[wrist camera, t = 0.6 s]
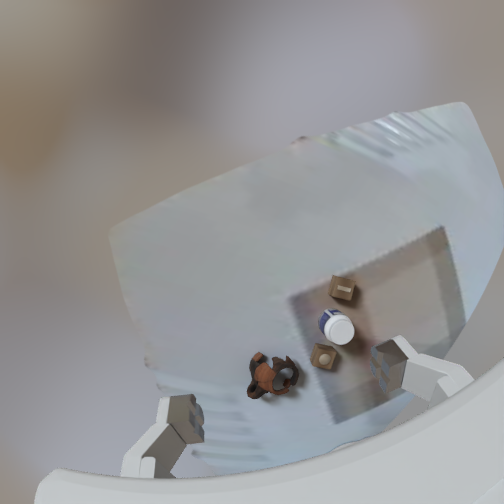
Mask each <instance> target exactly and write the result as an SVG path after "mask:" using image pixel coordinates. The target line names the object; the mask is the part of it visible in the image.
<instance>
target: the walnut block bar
mask: <svg viewBox="0 0 504 504" xmlns="http://www.w3.org/2000/svg"><path fill="white" fill-rule="evenodd" d="M355 282H356V281H353V280H349V279H345V278H341V277H337V276H334V275H333V277H332V281H331V284H330V288H329V292H328V294H329V295H331V296H333V297H337V298H341V299H345V300H351V297H352V293H353V290H354V286H355Z"/></svg>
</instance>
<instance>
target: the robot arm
mask: <svg viewBox="0 0 504 504" xmlns="http://www.w3.org/2000/svg"><path fill="white" fill-rule="evenodd" d="M371 354H372V355H373V357H372V358H371V359H370V366H371V371H372V373H373V375H374V376H375V378H377V379H380V383H379V384H380V386H381V387H382V389H383V391H384V392H385V394H386V393H388V392H390V391H393V390H395V389H397V388H400V387H401V388H403V389H405V390H407V391H409V392H411V393H413V394H415V395H417V396H419V397H421V398H423V399H425V400H427V401H429V402H430V404H429V406H428V409H427V410H426V411H425V412H423V413H421V414H419V415H417V416H415V417H413V418H411V419H410V420H408V421H406V422H404V423H401V424H399V425H397V426H395V427H393V428H391V429H389V430H387V431H384V432H382V433H380V434H377V435H375V436H373V437H367V438H365V439H363V440H360V441H357V442H350V443H346V444H344V445H341V446H339V447H337V448H335V449H334V450H332V451H331V452H329V453H326V454H323V455H319V456H316V457H312V458H309V459H305V460H301V461H298V462H294V463H290V464H285V465H281V466H276V467H272V468H267V469H261V470H256V471H250V472H243V473H236V474H229V475H220V476H209V477H197V478H176V477H175V476H173V475H172V474H171V473H170V471H171V469H172V468H173V466H174V465H175V463H176V461H177V460H178V458H179V457H180V455H181V454H182V452H183V450H184V449H185V447H186V444H194V443H202V442H204V430H203V428H202V427H201V426H202V425H203V424H204V415H203V411H202V408H201V407H200V405H199V404H197V403H196V398H195V396H194V395H193V394H188V395H179V396H171V397H161V399H160V401H159V406H158V412H157V419H156V424H155V425H152V426H151V427H150V428H149V429H148V430H147V432H146V433H145V434H144V435H143V436H142V437H141V438H140V439H139V440H138V442H136V443H135V445H134V446H133V447H132V448H131V449H130V450H129V451H128V452H127V453H126V454H125V455H124V459H123V464H122V469H121V475H120V476H110V475H102V474H94V473H88V472H82V471H76V470H71V469H66V468H57V469H55V470H54V471H52V472H51V473H50V474H49V475H48V476H46V477H45V478H44V479H43V480H42V481H41V482H40V484H39V486H38V488H37V492H36V496H35V501H34V504H504V358H503V359H502V360H500V361H499V362H498V363H497V364H495V365H494V366H493V367H492V368H490V369H489V370H488V371H487V372H485V373H484V374H482V375H481V376H480V377H478V378H477V379H475V380H474V379H473V378H472V377H471V375H470V374H469V373H468V372H467V371H466V370H465V369H464V368H463V367H462V366H461V365H458V364H455V363H451V362H448V361H444V360H441V359H438V358H435V357H431V356H428V355H425V354H418V353H417V352H416V351H415V350H414V349H413V348H412V346H411V345H410V344H409V343H408V342H407V341H406V340H405V339H404V338H403V336H401V335H399V336H396V337H394V338H392V339H389V340H387V341H384V342H382V343H379V344H377V345H375V346H372V348H371Z"/></svg>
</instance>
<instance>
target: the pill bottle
mask: <svg viewBox="0 0 504 504" xmlns="http://www.w3.org/2000/svg"><path fill="white" fill-rule="evenodd" d="M318 326H319V328H320V330H321V331H322V333H323V334H324V335H325V336H326V338H327V339H328V340H329V341H331V342H334V343H336V344H338V345H343V344H346V343H348V342H349V341H350V340H351V339H352V338H353V336H354V327H353V325H352V322H351V320H350V319H349V318H348V317H347V316H346V315H344V314H343V313H342V312H340V311H339V310H337V309H333V308H331V309H327V310H325V311H323V312H322V313H321V315H320V316H319V319H318Z"/></svg>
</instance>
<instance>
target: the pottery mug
mask: <svg viewBox="0 0 504 504" xmlns="http://www.w3.org/2000/svg"><path fill="white" fill-rule="evenodd" d="M262 357H263V354H261V353H260V352H258V353H257V354H256V355H255V356H254V357H253V358H252V360H251V362H250V367H249V368H250V372H251V376H252V381H251V383H250V385H249V386H248V388H247V394H248V397H250V398H252V399H258V398H260V397H261V396H262V395H263V394H265V393H268V392H270V393H273V394H276V395H281V394H285V393H287V392H288V391H289V389H288V387H289V386H290V385H292V386H294V385H295V384H296V382H297V380H298V376H299V373H298V369H297V367H296V366H295V364H294V362H293V361H292V360H291V359H290V358H289V357H288V356H286V361H284V360H283V359H280V358H278V357H273V358H272V360H273V369H271V368H270V367H269V365H268V364H267V363H262V364H260V363H258V361H259V359H260V358H262ZM284 368H292V369H293V372H294V373H293V376H292V377H291V379H286V380H285V381H284V383H283V386H285V388H283V389H281V390H274V389H273V385H272V384H273V379H274V377H275V376H276V374H277V373H278V372H279V371H281V370H282V369H284Z"/></svg>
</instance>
